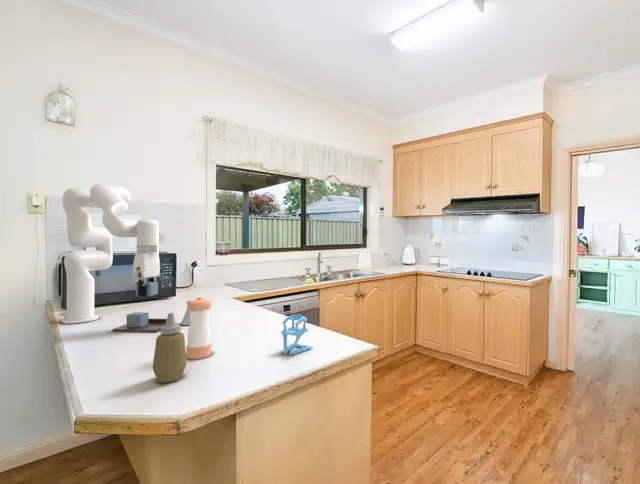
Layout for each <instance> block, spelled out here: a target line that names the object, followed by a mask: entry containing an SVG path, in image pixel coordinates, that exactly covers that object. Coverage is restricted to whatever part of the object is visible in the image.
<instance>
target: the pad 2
mask: <svg viewBox="0 0 640 484" xmlns="http://www.w3.org/2000/svg"><path fill="white" fill-rule="evenodd" d="M148 318H149V312H147V311H145V312H143V311H134V312H131V313H128V314H126V324H127V326H126V327H142V326H145V325H147V324H148Z"/></svg>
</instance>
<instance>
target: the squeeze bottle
mask: <svg viewBox="0 0 640 484" xmlns="http://www.w3.org/2000/svg"><path fill="white" fill-rule="evenodd" d="M166 319H167V321H166V324H165V326H163V327H161V330H160V334H159V335H158V336H157V337H156V339H155V345H154V352H153V354H154V355H153V362H152V371H153V373H154V375H155V379H156V382H157V383H160V384H161V383H163V384H164V383H165V384H166V383H171V382H175V381H178V380H180V379H181V378H182V377H183V375H184V373H185V369H186V367H187V365H188V360H187V359H188V358H187V357H186V341H185V334H184V332H181V324H177V323H176V318H175V315H174V312H169V313H167V317H166Z"/></svg>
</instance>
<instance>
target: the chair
mask: <svg viewBox="0 0 640 484" xmlns="http://www.w3.org/2000/svg"><path fill="white" fill-rule="evenodd" d="M288 321H291V327H288V328H287V324H286V323H287V322H288ZM295 321H296V322H295ZM307 321H308V318H307V317H306V316H304V315H302V314H297V313H296V314H293V315H288V316H287V317H285V318H284V320H283V321H282V325H283V330H281V331H280V335H282V341H283V342H282V343H283V352H282V353H283V355H287V354H288V353H289V356H292V355H296V354H298V353H302V352H305V351H309V350H311V346H310V345H307V344H301V343H299V341H300V338H301V337H302V336H303V335H304V334H305V333H307V332H309V329H308V328H307V327H306V326H307V325H306V324H307ZM302 322H303V325H302V327H299V325H300V324H301V323H302ZM288 336H294V337H295V340H294V342H291V343H290V344H289V345H288ZM296 348H297V349H296Z"/></svg>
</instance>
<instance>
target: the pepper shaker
mask: <svg viewBox="0 0 640 484" xmlns="http://www.w3.org/2000/svg"><path fill="white" fill-rule="evenodd" d="M189 301H190V300H189ZM187 307H188V309H189V310H190V325H188V331H187V345H185V349H186V359H188V360H199V359H205V358H207V357H210V356H212V343H211V327H210V322H209V321H210V317H209V315H210V311H209V310H210V309H211V307H212V302H211V300H210V299H207V298H203V297H202V296H198V297H196V298H194V299H192V301H190V302H189V303H188V305H186V308H187Z"/></svg>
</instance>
